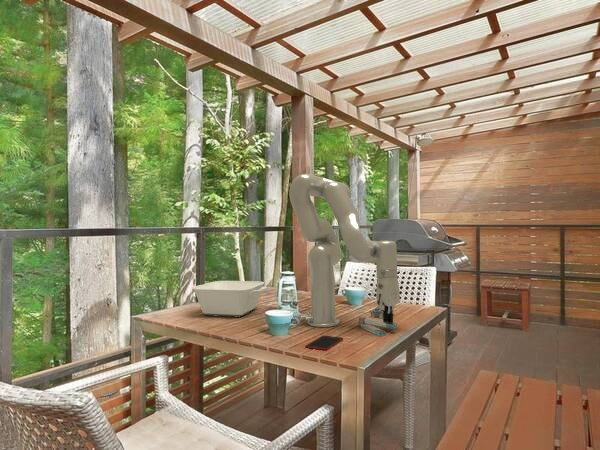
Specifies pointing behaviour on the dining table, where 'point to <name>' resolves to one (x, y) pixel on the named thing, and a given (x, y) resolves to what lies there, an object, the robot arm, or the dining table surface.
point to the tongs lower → (370, 327)
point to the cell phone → (324, 343)
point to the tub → (229, 297)
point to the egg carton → (376, 312)
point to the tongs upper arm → (381, 323)
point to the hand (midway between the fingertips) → (388, 323)
